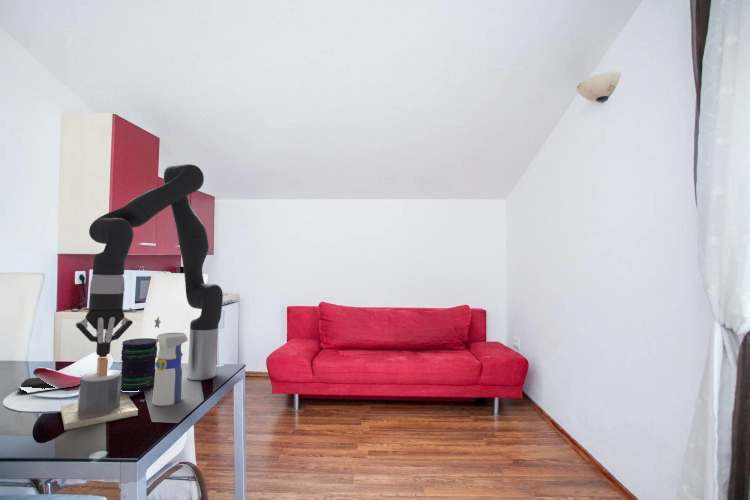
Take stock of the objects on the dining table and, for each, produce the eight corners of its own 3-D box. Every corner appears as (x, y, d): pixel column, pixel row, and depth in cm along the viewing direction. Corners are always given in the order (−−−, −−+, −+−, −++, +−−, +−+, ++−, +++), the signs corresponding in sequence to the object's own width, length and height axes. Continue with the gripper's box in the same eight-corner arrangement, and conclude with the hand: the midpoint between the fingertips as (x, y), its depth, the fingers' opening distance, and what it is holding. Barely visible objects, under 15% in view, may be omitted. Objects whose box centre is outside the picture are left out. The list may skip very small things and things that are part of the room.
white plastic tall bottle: (169, 407, 106) (175, 318, 108) (143, 404, 108) (149, 316, 109) (189, 398, 114) (194, 314, 116) (165, 395, 116) (170, 313, 117)
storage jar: (161, 384, 126) (164, 338, 127) (142, 394, 116) (145, 344, 117) (132, 382, 127) (135, 337, 127) (111, 392, 117) (114, 343, 117)
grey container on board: (60, 411, 101) (63, 375, 102) (126, 399, 111) (128, 366, 112) (64, 430, 90) (67, 389, 91) (137, 415, 100) (139, 379, 101)
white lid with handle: (82, 396, 95) (84, 363, 96) (79, 387, 101) (81, 357, 102) (122, 389, 101) (124, 359, 101) (117, 381, 107) (119, 353, 107)
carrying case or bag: (80, 379, 129) (21, 386, 120) (81, 370, 129) (22, 377, 120) (82, 387, 121) (19, 396, 112) (82, 378, 121) (20, 386, 112)
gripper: (133, 290, 110) (128, 350, 109) (74, 290, 101) (69, 356, 100) (138, 292, 104) (134, 356, 103) (77, 293, 95) (72, 362, 94)
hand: (102, 356), depth 102 cm, fingers closed
